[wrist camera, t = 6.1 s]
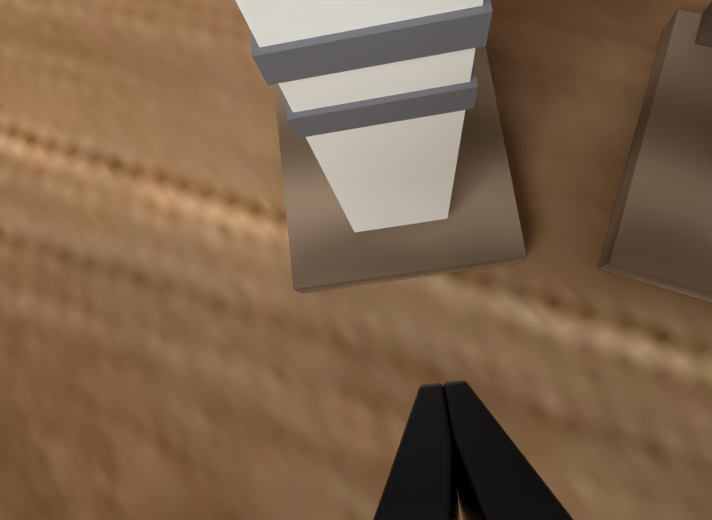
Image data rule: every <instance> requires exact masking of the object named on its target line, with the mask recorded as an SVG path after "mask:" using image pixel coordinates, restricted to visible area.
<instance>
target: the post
mask: <svg viewBox="0 0 712 520" xmlns="http://www.w3.org/2000/svg"><path fill="white" fill-rule="evenodd" d="M236 2H237V4H238V6H239V8H240V10H241V12H242V14H243V16H244V18H245V20H246V22H247V24H248V26H249V28H250V35H251V47H252V57H253V58H254V60H255V62H256V64H257V66H258V68H259V69H260V71H261V73H262V75H263V77H264V78H265V80H266V82H267V84H268V85H272V84H279V86H280V88H281V90H282V92H283V94H284V96H285V102H286V112H287V120H288V122H289V124H290V126H291V127H292V129H293V131H294V133H295V135H296V136H297V138H302V137H306V139H307V141H308V143H309V145H310V147H311V148H312V150H313V152H314V154H315V156H316V158H317V160H318V162H319V164H320V166H321V168H322V170H323V172H324V174H325V176H326V178H327V180H328V182H329V184H330V186H331V187H332V189H333V191H334V193H335V195H336V197H337V199H338V201H339V203H340V205H341V207H342V209H343V211H344V213H345V215H346V217H347V219H348V221H349V223H350V225H351V226H352V228H353V230H354V232H362V231H368V230H375V229H382V228H388V227H395V226H402V225H408V224H415V223H422V222H428V221H435V220H442V219H447V218H448V212H449V206H450V200H451V194H452V188H453V182H454V176H455V170H456V164H457V158H458V151H459V145H460V139H461V133H462V127H463V121H464V115H465V110H468V109H474V105H475V100H476V94H477V89H478V84H477V78H476V73H475V68H474V62H473V61H474V55H475V48H477V47H483V46H486V44H487V39H488V33H489V28H490V23H491V18H492V13H493V10H492V5H491V0H236Z"/></svg>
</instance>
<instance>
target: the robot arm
mask: <svg viewBox="0 0 712 520" xmlns="http://www.w3.org/2000/svg"><path fill="white" fill-rule="evenodd" d="M457 492H458V494H457ZM458 498H459V503H460V508H461V512H462V516H463V520H573V518H572V517H571V516H570V515H569V513H568V512H567V511H566V509H565V508H564V507H563V506H562V504H561V503H560V502H559V500H558V499H557V498H556V497H555V495H554V494H553V493H552V491H551V490H550V489H549V487H548V486H547V485H546V484H545V482H544V481H543V480H542V478H541V477H540V476H539V475H538V473H537V472H536V471H535V469H534V468H533V467H532V466H531V464H530V463H529V462H528V460H527V459H526V458H525V457H524V455H523V454H522V453H521V451H520V450H519V449H518V448H517V446H516V445H515V444H514V442H513V441H512V440H511V438H510V437H509V436H508V435H507V433H506V432H505V431H504V429H503V428H502V427H501V426H500V424H499V423H498V422H497V420H496V419H495V418H494V417H493V415H492V414H491V413H490V411H489V410H488V409H487V408H486V406H485V405H484V404H483V402H482V401H481V400H480V399H479V397H478V396H477V395H476V393H475V392H474V391H473V389H472V388H471V387H470V386H469V384H468V383H467V382H465V381H454V382H446V383H445V384H444V385H442V384H440V383H434V384H424V385H421V386H420V388H419V390H418V393H417V396H416V399H415V402H414V404H413V407H412V410H411V413H410V416H409V419H408V422H407V425H406V427H405V430H404V433H403V436H402V439H401V442H400V445H399V448H398V450H397V453H396V456H395V459H394V462H393V465H392V468H391V471H390V473H389V476H388V479H387V482H386V485H385V488H384V491H383V494H382V496H381V499H380V502H379V505H378V508H377V511H376V514H375V517H374V519H373V520H459V504H458Z"/></svg>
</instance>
